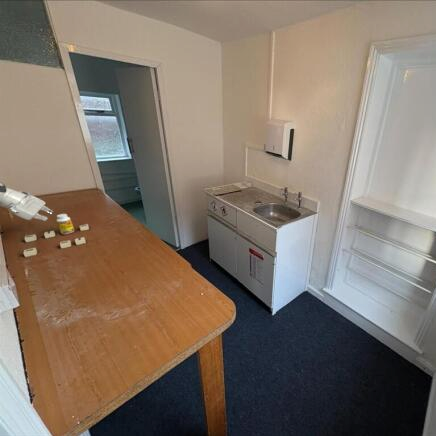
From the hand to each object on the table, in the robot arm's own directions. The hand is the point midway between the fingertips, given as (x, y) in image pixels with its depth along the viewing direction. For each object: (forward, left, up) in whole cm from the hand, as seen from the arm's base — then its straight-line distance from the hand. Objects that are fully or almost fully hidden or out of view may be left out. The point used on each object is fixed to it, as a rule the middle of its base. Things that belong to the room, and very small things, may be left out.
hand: (49, 216), depth 121 cm
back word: (+1, -1, -10) cm, 11 cm away
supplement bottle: (+4, -2, -10) cm, 11 cm away
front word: (0, -19, -10) cm, 22 cm away
